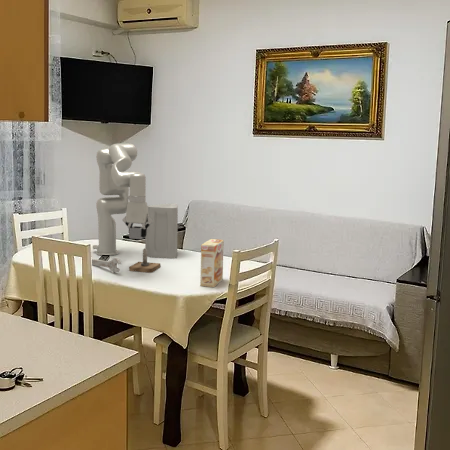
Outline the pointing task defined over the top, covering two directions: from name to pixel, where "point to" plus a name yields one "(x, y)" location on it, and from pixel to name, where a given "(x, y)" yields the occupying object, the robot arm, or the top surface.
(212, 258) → the coffeecake box
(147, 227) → the robot arm
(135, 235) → the grey slotted block
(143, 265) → the shaft block
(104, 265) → the wrench
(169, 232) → the upright grey panel
